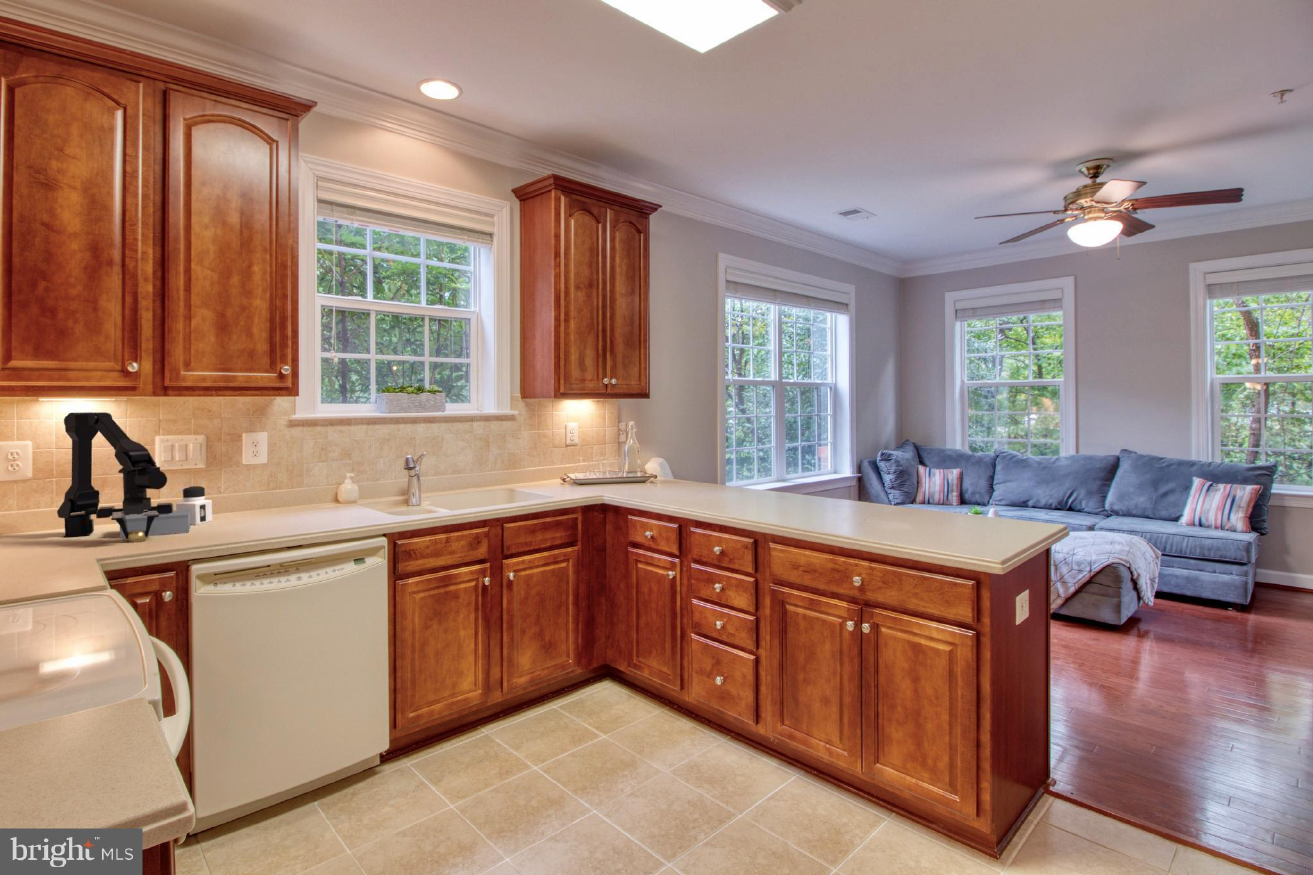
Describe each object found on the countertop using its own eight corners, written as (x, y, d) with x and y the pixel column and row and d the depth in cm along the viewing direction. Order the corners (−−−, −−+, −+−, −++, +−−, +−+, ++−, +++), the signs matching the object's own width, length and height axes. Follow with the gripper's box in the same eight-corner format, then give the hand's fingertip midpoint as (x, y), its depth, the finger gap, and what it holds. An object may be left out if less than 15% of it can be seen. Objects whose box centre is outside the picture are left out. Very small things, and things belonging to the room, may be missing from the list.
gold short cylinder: (127, 543, 211) (126, 533, 211) (128, 540, 215) (128, 531, 214) (145, 541, 213) (145, 532, 213) (146, 539, 217) (146, 529, 217)
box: (120, 538, 218) (119, 519, 218) (124, 531, 228) (124, 513, 228) (188, 532, 228) (188, 514, 227) (190, 526, 238) (189, 509, 237)
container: (212, 521, 248) (211, 485, 248) (196, 525, 241) (195, 488, 240) (193, 520, 249) (191, 485, 249) (176, 524, 242) (174, 487, 241)
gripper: (92, 493, 201) (94, 545, 202) (170, 488, 211) (171, 539, 212) (98, 488, 211) (100, 539, 212) (172, 484, 221) (174, 533, 221)
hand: (137, 537), depth 214 cm, fingers closed on gold short cylinder, 4 cm apart
